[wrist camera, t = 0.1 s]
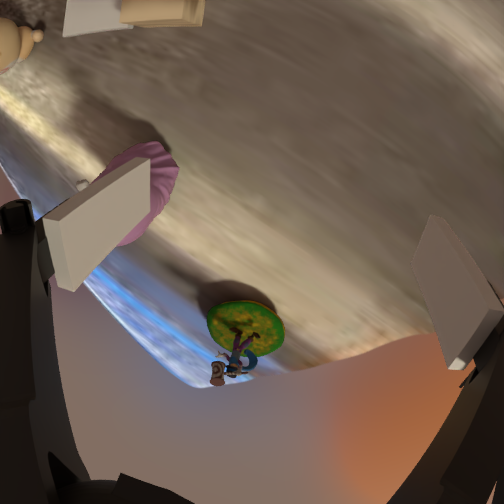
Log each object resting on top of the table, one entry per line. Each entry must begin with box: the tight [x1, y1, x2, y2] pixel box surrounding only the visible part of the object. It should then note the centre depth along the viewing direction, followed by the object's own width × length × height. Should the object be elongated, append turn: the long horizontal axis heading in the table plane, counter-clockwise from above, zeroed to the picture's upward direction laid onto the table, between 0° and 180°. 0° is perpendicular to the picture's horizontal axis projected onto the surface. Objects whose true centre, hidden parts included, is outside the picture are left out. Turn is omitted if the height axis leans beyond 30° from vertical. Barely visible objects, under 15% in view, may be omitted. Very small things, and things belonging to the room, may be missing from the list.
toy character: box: [76, 141, 179, 246], centre depth 36 cm, size 12×10×20 cm
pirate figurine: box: [207, 300, 285, 386], centre depth 49 cm, size 14×13×15 cm
